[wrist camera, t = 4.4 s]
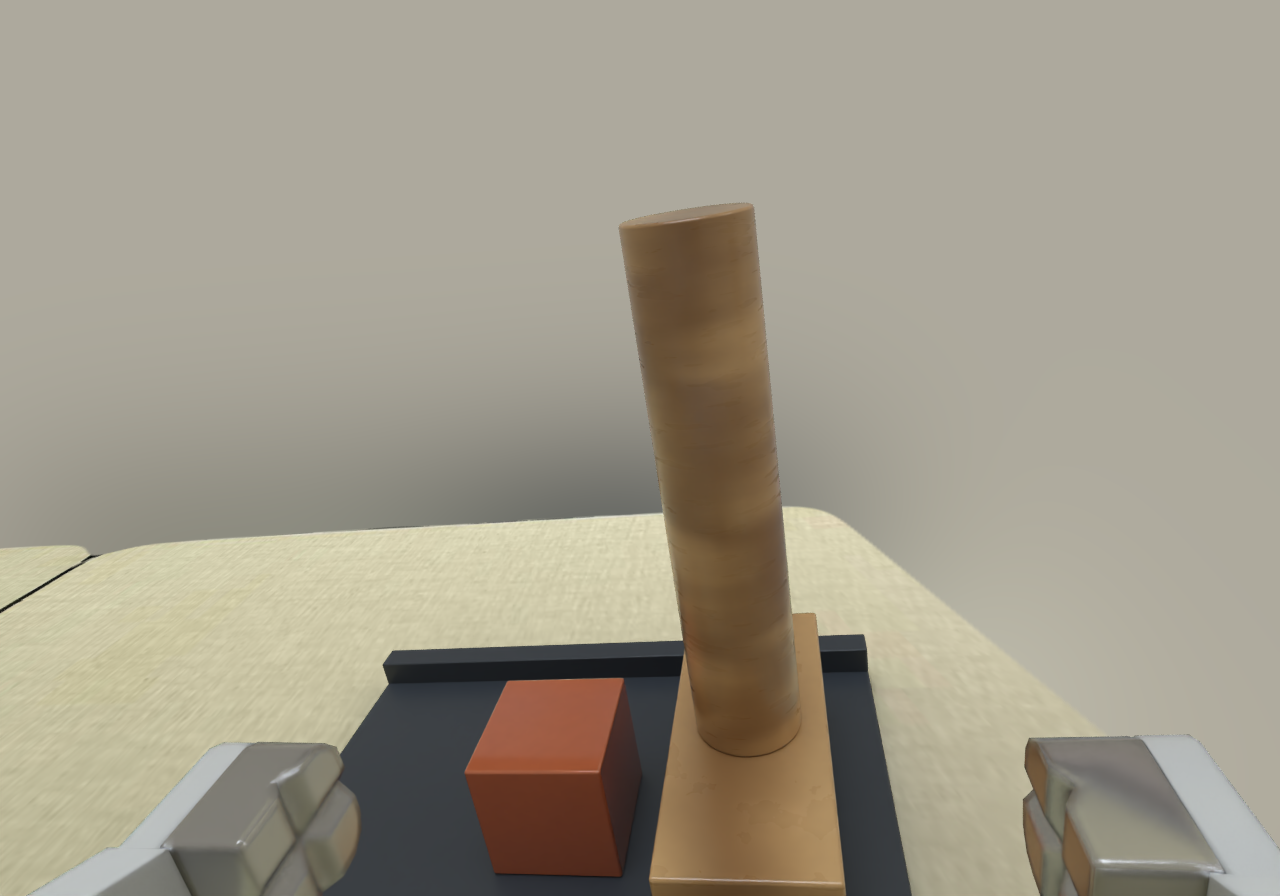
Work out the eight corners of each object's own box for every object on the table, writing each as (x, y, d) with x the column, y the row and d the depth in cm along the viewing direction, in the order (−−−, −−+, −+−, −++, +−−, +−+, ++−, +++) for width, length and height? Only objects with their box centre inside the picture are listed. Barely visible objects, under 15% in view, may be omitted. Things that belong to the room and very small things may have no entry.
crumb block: (642, 772, 26) (624, 676, 24) (622, 878, 22) (599, 772, 21) (531, 773, 26) (506, 679, 25) (493, 874, 23) (462, 772, 21)
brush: (823, 705, 27) (781, 185, 21) (854, 1007, 18) (796, 223, 11) (702, 706, 28) (627, 208, 22) (671, 996, 19) (521, 261, 12)
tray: (866, 675, 30) (864, 633, 29) (964, 1191, 15) (964, 1131, 15) (404, 687, 34) (392, 650, 33) (129, 1105, 19) (97, 1055, 18)
